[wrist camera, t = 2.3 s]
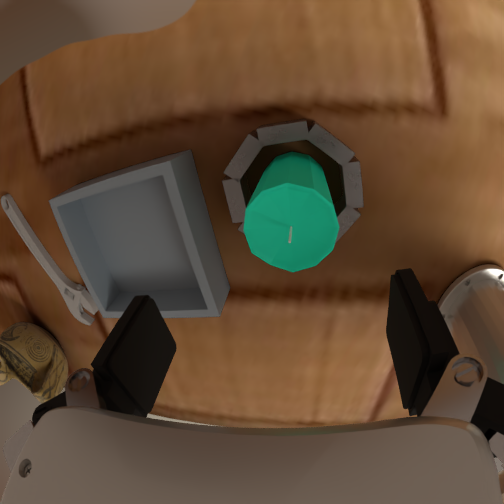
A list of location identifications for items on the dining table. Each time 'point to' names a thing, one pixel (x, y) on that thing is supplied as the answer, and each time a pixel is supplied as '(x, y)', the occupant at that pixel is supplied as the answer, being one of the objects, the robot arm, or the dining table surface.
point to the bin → (145, 239)
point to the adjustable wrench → (51, 266)
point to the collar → (290, 132)
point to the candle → (291, 214)
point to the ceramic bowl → (33, 360)
